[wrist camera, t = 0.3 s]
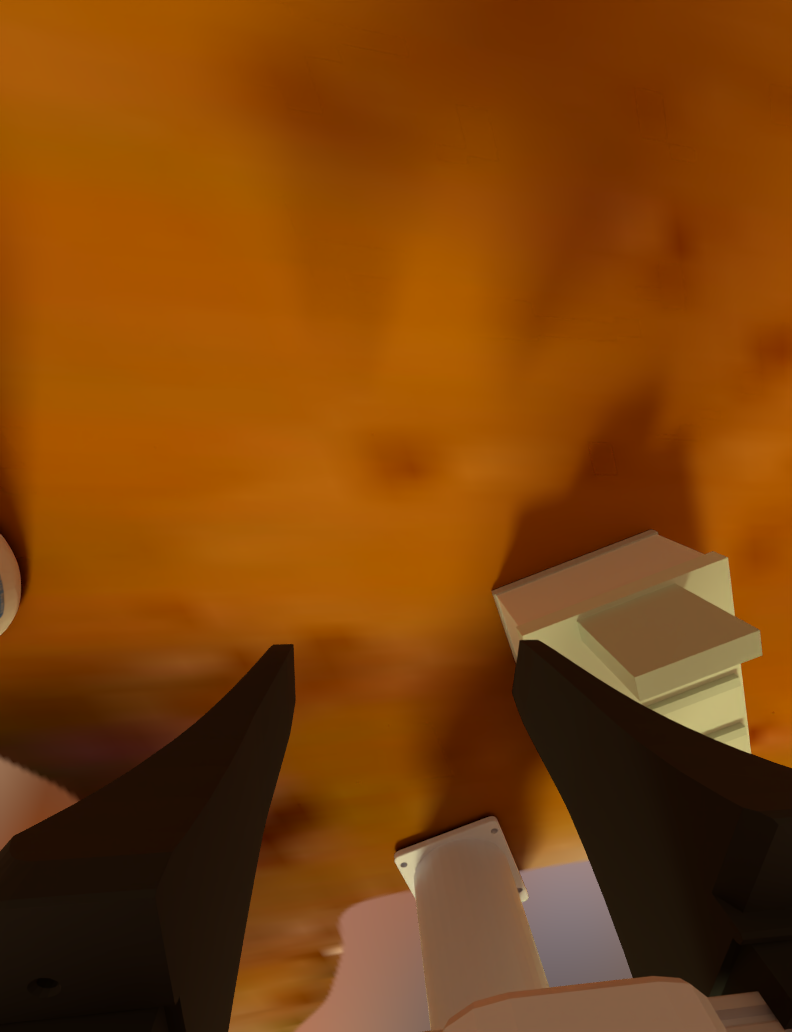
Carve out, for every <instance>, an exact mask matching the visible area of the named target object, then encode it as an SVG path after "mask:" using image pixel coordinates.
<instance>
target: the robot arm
mask: <svg viewBox="0 0 792 1032" xmlns="http://www.w3.org/2000/svg"><path fill="white" fill-rule="evenodd" d="M512 694H513V697H514V700H515V703H516V706H517V708H518V711H519V714H520V716H521V719H522V721H523V724H524V726H525V728H526V730H527V732H528V734H529V736H530V738H531V740H532V741H533V743H534V745H535V747H536V749H537V751H538V753H539V755H540V757H541V759H542V761H543V762H544V764H545V766H546V768H547V770H548V772H549V774H550V776H551V778H552V779H553V781H554V783H555V785H556V787H557V789H558V791H559V793H560V795H561V797H562V799H563V801H564V803H565V805H566V807H567V809H568V811H569V813H570V815H571V818H572V820H573V823H574V825H575V827H576V830H577V832H578V834H579V837H580V839H581V842H582V844H583V846H584V849H585V851H586V854H587V856H588V859H589V861H590V864H591V866H592V869H593V871H594V874H595V876H596V879H597V881H598V884H599V886H600V889H601V892H602V894H603V896H604V899H605V902H606V905H607V907H608V910H609V913H610V915H611V918H612V921H613V924H614V926H615V929H616V932H617V934H618V937H619V940H620V943H621V945H622V948H623V950H624V954H625V956H626V959H627V962H628V965H629V968H630V971H631V974H632V977H633V978H631V979H622V980H613V981H604V982H596V983H586V984H578V985H568V986H560V987H551V988H549V985H548V982H547V979H546V976H545V973H544V970H543V967H542V963H541V960H540V958H539V954H538V951H537V948H536V945H535V942H534V939H533V936H532V933H531V930H530V927H529V924H528V921H527V918H526V915H525V912H524V908H523V905H522V902H524V901H526V900H527V899H528V893H527V890H526V887H525V885H524V883H523V880H522V878H521V875H520V873H519V870H518V868H517V866H516V863H515V861H514V858H513V856H512V854H511V851H510V849H509V846H508V844H507V841H506V839H505V837H504V834H503V832H502V829H501V827H500V825H499V822H498V820H497V818H496V817H494V816H489V817H486V818H484V819H481V820H478V821H476V822H473V823H470V824H468V825H465V826H462V827H460V828H457V829H454V830H452V831H449V832H447V833H444V834H441V835H439V836H436V837H433V838H431V839H428V840H425V841H423V842H420V843H417V844H415V845H412V846H409V847H407V848H404V849H401V850H399V851H397V852H396V853H395V855H394V859H395V863H396V865H397V867H398V869H399V870H400V872H401V874H402V876H403V877H404V879H405V881H406V883H407V885H408V886H409V888H410V890H411V892H412V894H413V895H414V897H415V899H416V905H417V914H418V923H419V931H420V939H421V949H422V957H423V966H424V974H425V983H426V993H427V1001H428V1010H429V1018H430V1028H431V1031H425V1032H792V768H789V767H786V766H783V765H780V764H777V763H774V762H771V761H769V760H766V759H763V758H761V757H758V756H755V755H753V754H750V753H747V752H745V751H742V750H739V749H737V748H734V747H732V746H729V745H727V744H724V743H722V742H719V741H717V740H715V739H712V738H710V737H708V736H706V735H703V734H701V733H699V732H697V731H694V730H692V729H690V728H688V727H685V726H683V725H681V724H679V723H677V722H675V721H673V720H671V719H669V718H667V717H665V716H663V715H661V714H659V713H657V712H655V711H653V710H651V709H649V708H647V707H645V706H644V705H642V704H640V703H638V702H636V701H635V700H633V699H631V698H629V697H628V696H626V695H624V694H623V693H621V692H619V691H618V690H616V689H614V688H613V687H611V686H609V685H608V684H606V683H604V682H603V681H601V680H600V679H598V678H596V677H595V676H593V675H592V674H590V673H589V672H587V671H586V670H584V669H583V668H581V667H580V666H578V665H577V664H575V663H574V662H572V661H571V660H569V659H568V658H566V657H565V656H563V655H562V654H560V653H559V652H557V651H556V650H554V649H552V648H551V647H549V646H548V645H546V644H544V643H543V642H541V641H539V640H520V641H519V648H518V655H517V662H516V669H515V676H514V683H513V690H512ZM294 707H295V674H294V647H293V644H283V645H272V646H271V647H270V648H269V649H268V650H267V651H266V652H265V654H264V655H263V656H262V657H261V658H260V659H259V660H258V662H257V663H256V664H255V665H254V666H253V667H252V668H251V669H250V670H249V672H248V673H247V674H246V675H245V676H244V677H243V678H242V679H241V680H240V681H239V682H238V683H237V684H236V685H235V686H234V687H233V688H232V689H231V690H230V691H229V692H228V693H227V694H226V695H225V696H224V697H223V698H222V699H221V700H220V701H219V702H218V703H217V704H216V705H215V706H214V707H212V708H211V709H210V710H209V711H208V712H207V713H206V714H205V715H204V716H203V717H201V718H200V719H199V720H198V721H197V722H196V723H195V724H193V725H192V726H191V727H190V728H188V729H187V730H186V731H185V732H183V733H182V734H181V735H180V736H178V737H177V738H176V739H174V740H173V741H172V742H170V743H169V744H168V745H166V746H165V747H163V748H162V749H160V750H159V751H158V752H156V753H155V754H153V755H152V756H151V757H149V758H148V759H146V760H145V761H143V762H142V763H141V764H139V765H138V766H136V767H135V768H133V769H132V770H130V771H129V772H127V773H125V774H124V775H122V776H121V777H119V778H117V779H116V780H114V781H113V782H111V783H109V784H108V785H106V786H104V787H103V788H101V789H99V790H98V791H96V792H94V793H93V794H91V795H89V796H88V797H86V798H84V799H82V800H81V801H79V802H77V803H75V804H74V805H72V806H70V807H68V808H66V809H64V810H63V811H60V812H59V813H57V814H55V815H53V816H51V817H49V818H47V819H45V820H43V821H42V822H40V823H38V824H36V825H34V826H32V827H30V828H29V829H26V830H25V831H23V832H21V833H19V834H17V835H15V836H13V837H12V839H11V840H10V841H9V842H8V843H7V844H6V845H5V847H4V848H3V849H2V850H1V851H0V1032H228V1029H229V1023H230V1017H231V1011H232V1004H233V998H234V992H235V986H236V980H237V975H238V969H239V963H240V957H241V951H242V945H243V939H244V934H245V928H246V922H247V917H248V911H249V906H250V900H251V895H252V889H253V884H254V878H255V873H256V868H257V862H258V857H259V852H260V847H261V841H262V836H263V832H264V827H265V823H266V819H267V815H268V811H269V808H270V804H271V801H272V797H273V793H274V790H275V786H276V783H277V779H278V776H279V772H280V769H281V765H282V761H283V758H284V754H285V751H286V747H287V743H288V740H289V736H290V731H291V725H292V719H293V713H294Z"/></svg>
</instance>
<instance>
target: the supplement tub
mask: <svg viewBox="0 0 792 1032" xmlns="http://www.w3.org/2000/svg"><path fill="white" fill-rule="evenodd" d="M20 598H21V577H20V571H19V566H18V563H17V560H16V558H15V556H14V554H13V552H12V550H11V548H10V546H9V545H8V543H7V541H6V540H5V539H4V537H3V536H2V535H1V534H0V635H1V634H2V633H3V632H4V631H5V630H6V629H7V628H8V626H9V625H10V624H11V622H12V620H13V619H14V617H15V615H16V612H17V610H18V607H19V603H20Z"/></svg>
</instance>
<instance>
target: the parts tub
mask: <svg viewBox="0 0 792 1032" xmlns="http://www.w3.org/2000/svg"><path fill="white" fill-rule="evenodd" d="M702 555H705V554H703V553H700V552H698V551H696V550H693V549H691V548H689V547H686V546H684V545H681V544H679V543H677V542H674V541H672V540H670V539H667V538H665V537H662V536H660V535H658V532H657V531H655V530H652V529H651V530H648V531H646V532H643V533H641V534H638V535H635V536H633V537H630V538H628V539H625V540H622V541H620V542H617V543H615V544H612V545H609V546H607V547H604V548H602V549H599V550H596V551H594V552H591V553H589V554H586V555H583V556H581V557H578V558H576V559H573V560H570V561H568V562H565V563H563V564H560V565H557V566H555V567H552V568H550V569H547V570H544V571H542V572H539V573H537V574H534V575H531V576H529V577H526V578H524V579H521V580H518V581H516V582H513V583H511V584H508V585H505V586H503V587H500V588H498V589H495V590H492V594H493V597H494V600H495V603H496V606H497V609H498V612H499V615H500V618H501V621H502V624H503V627H504V630H505V633H506V636H507V639H508V642H509V645H510V648H511V651H512V654H513V657H514V660H515V663H516V662H517V655H518V648H519V641H520V639H519V636H518V633H517V629H516V627H517V626H519V625H522V624H524V623H527V622H530V621H532V620H535V619H537V618H540V617H543V616H545V615H548V614H551V613H553V612H556V611H558V610H561V609H564V608H566V607H569V606H571V605H574V604H577V603H579V602H582V601H584V600H587V599H590V598H592V597H595V596H598V595H600V594H603V593H605V592H608V591H611V590H613V589H616V588H618V587H621V586H624V585H626V584H629V583H631V582H634V581H637V580H639V579H642V578H645V577H647V576H650V575H652V574H655V573H658V572H660V571H663V570H665V569H668V568H671V567H673V566H676V565H678V564H681V563H684V562H686V561H689V560H692V559H694V558H697V557H699V556H702Z"/></svg>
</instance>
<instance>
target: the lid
mask: <svg viewBox="0 0 792 1032" xmlns="http://www.w3.org/2000/svg"><path fill="white" fill-rule="evenodd" d="M516 629H517V633H518V636H519V639H520V640H539V641H541V642H543V643H544V644H546V645H548V646H549V647H551V648H552V649H554V650H556V651H557V652H559V653H560V654H562V655H563V656H565V657H566V658H568V659H569V660H571V661H572V662H574V663H575V664H577V665H578V666H580V667H581V668H583V669H584V670H586V671H587V672H589V673H590V674H592V675H593V676H595V677H596V678H598V679H600V680H601V681H603V682H604V683H606V684H608V685H609V686H611V687H613V688H614V689H616V690H618V691H619V692H621V693H623V694H624V695H626V696H628V697H629V698H631V699H633V700H635V701H636V702H638V703H640V704H642V705H644V706H645V707H647V708H649V709H651V710H653V711H655V712H657V713H659V714H661V715H663V716H665V717H667V718H669V719H671V720H673V721H675V722H677V723H679V724H681V725H683V726H685V727H688V728H690V729H692V730H694V731H697V732H699V733H701V734H703V735H706V736H708V737H710V738H712V739H715V740H717V741H719V742H722V743H724V744H727V745H729V746H732V747H734V748H737V749H739V750H742V751H745V752H747V753H750V754H751V748H750V740H749V731H748V723H747V715H746V706H745V698H744V689H743V681H742V672H741V663H743V662H746V661H748V660H751V659H754V658H756V657H759V656H762V647H761V637H760V630H759V629H757V628H755V627H753V626H751V625H750V624H748V623H746V622H744V621H742V620H741V619H739V618H737V617H735V613H734V605H733V596H732V588H731V580H730V571H729V563H728V557H726V556H723V555H721V554H718V553H716V552H713V551H712V552H710V553H707V554H705V555H702V556H699V557H697V558H694V559H692V560H689V561H686V562H684V563H681V564H678V565H676V566H673V567H671V568H668V569H665V570H663V571H660V572H658V573H655V574H652V575H650V576H647V577H645V578H642V579H639V580H637V581H634V582H631V583H629V584H626V585H624V586H621V587H618V588H616V589H613V590H611V591H608V592H605V593H603V594H600V595H598V596H595V597H592V598H590V599H587V600H584V601H582V602H579V603H577V604H574V605H571V606H569V607H566V608H564V609H561V610H558V611H556V612H553V613H551V614H548V615H545V616H543V617H540V618H537V619H535V620H532V621H530V622H527V623H524V624H522V625H519V626H517V627H516Z"/></svg>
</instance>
